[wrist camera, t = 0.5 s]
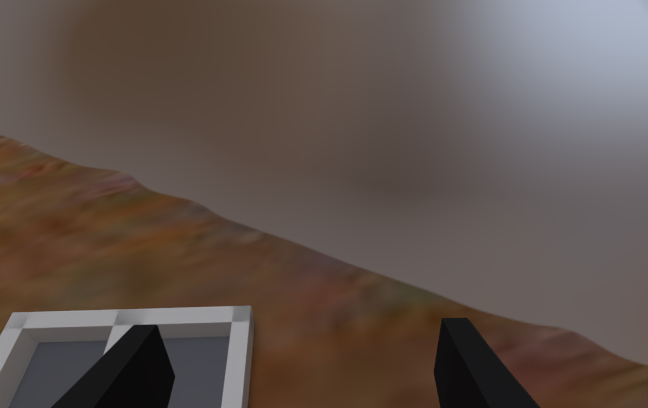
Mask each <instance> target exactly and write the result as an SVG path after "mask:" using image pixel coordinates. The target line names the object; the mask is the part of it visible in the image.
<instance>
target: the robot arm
mask: <svg viewBox="0 0 648 408" xmlns="http://www.w3.org/2000/svg"><path fill="white" fill-rule="evenodd" d="M434 376H435V381H436V387H437V392H438V397H439V402H440V407H441V408H540V407H539V405H538V404H537V403H536V402H535V401H534V400H533V398H532V397H531V396H530V395H529V394H528V393H527V391H526V390H525V389H524V388H523V387H522V386H521V385H520V383H519V382H518V381H517V380H516V379H515V377H514V376H513V375H512V374H511V373H510V371H509V370H508V369H507V368H506V367H505V365H504V364H503V363H502V362H501V360H500V359H499V358H498V357H497V355H496V354H495V353H494V352H493V350H492V349H491V348H490V346H489V345H488V344H487V343H486V341H485V340H484V339H483V337H482V336H481V335H480V333H479V332H478V331H477V329H476V328H475V327H474V325H473V324H472V323H471V321H470V320H468V319H467V318H442V322H441V328H440V335H439V341H438V348H437V354H436V361H435V367H434ZM174 380H175V374H174V371H173V368H172V365H171V363H170V360H169V357H168V354H167V351H166V348H165V345H164V343H163V340H162V337H161V334H160V331H159V328H158V325H157V324H149V325H133V326H132V327H131V328H130V329H129V330H128V331H127V332H126V333H125V334H124V335H123V336H122V337H121V338H120V339H119V340H118V341H117V342H116V343H115V344H114V345H113V346H112V347H111V348H110V349H109V350H108V351H107V352H106V353H105V354H104V355H103V356H102V357H101V358H100V359H99V360H98V361H97V362H96V363H95V364H94V365H93V366H92V367H91V368H90V369H89V370H88V371H87V372H86V373H85V374H84V375H83V376H82V377H81V378H80V379H79V380H78V381H77V382H76V383H75V384H74V385H73V386H72V387H71V388H70V389H69V390H68V391H67V392H66V393H65V394H64V395H63V396H62V397H61V398H60V399H59V400H58V401H57V402H56V403H55V404H54V405H53V406H52V407H51V408H168V404H169V401H170V397H171V393H172V388H173V384H174Z"/></svg>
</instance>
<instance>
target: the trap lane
mask: <svg viewBox="0 0 648 408" xmlns="http://www.w3.org/2000/svg"><path fill="white" fill-rule="evenodd" d="M149 324H157V325H158V328H159V331H160V334H161V337H162V340H163V343H164V345H165V348H166V351H167V354H168V357H169V360H170V363H171V365H172V368H173V371H174V374H175V380H174V384H173V388H172V393H171V397H170V401H169V404H168V408H248V397H249V385H250V373H251V361H252V349H253V337H254V325H255V321H254V317H253V313H252V308H251V306H224V307H190V308H155V309H121V310H87V311H53V312H19V313H12V315H11V317H10V319H9V321H8V323H7V324H6V326H5V328H4V330H3V332H2V334H1V335H0V408H51V407H52V406H53V405H54V404H55V403H56V402H57V401H58V400H59V399H60V398H61V397H62V396H63V395H64V394H65V393H66V392H67V391H68V390H69V389H70V388H71V387H72V386H73V385H74V384H75V383H76V382H77V381H78V380H79V379H80V378H81V377H82V376H83V375H84V374H85V373H86V372H87V371H88V370H89V369H90V368H91V367H92V366H93V365H94V364H95V363H96V362H97V361H98V360H99V359H100V358H101V357H102V356H103V355H104V354H105V353H106V352H107V351H108V350H109V349H110V348H111V347H112V346H113V345H114V344H115V343H116V342H117V341H118V340H119V339H120V338H121V337H122V336H123V335H124V334H125V333H126V332H127V331H128V330H129V329H130V328H131V327H132V326H133V325H149Z"/></svg>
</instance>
